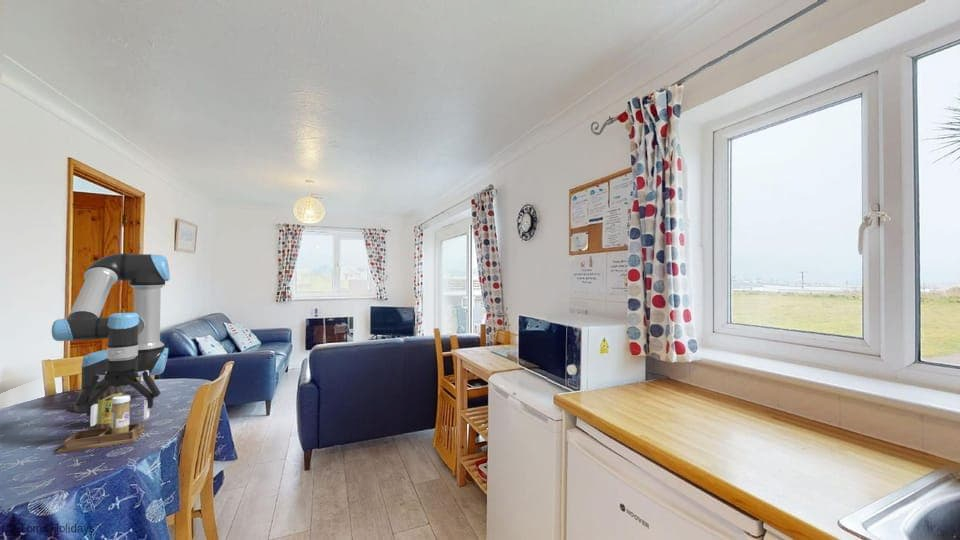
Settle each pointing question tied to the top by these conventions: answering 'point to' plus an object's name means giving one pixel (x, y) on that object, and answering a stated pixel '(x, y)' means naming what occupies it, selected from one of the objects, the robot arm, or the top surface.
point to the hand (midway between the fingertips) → (120, 421)
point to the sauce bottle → (106, 405)
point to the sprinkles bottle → (120, 414)
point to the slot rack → (100, 438)
